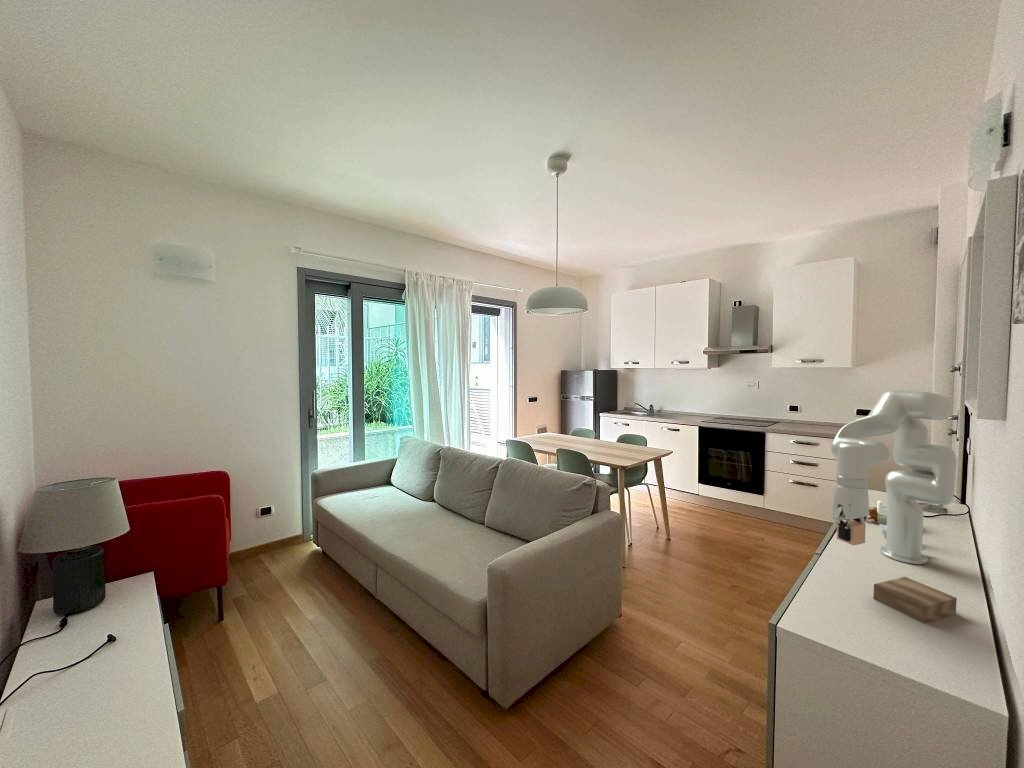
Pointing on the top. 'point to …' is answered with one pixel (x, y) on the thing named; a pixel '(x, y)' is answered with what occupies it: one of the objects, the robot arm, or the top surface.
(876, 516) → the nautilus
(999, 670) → the top surface
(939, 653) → the top surface
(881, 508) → the figurine
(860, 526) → the peach block
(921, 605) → the walnut plinth
